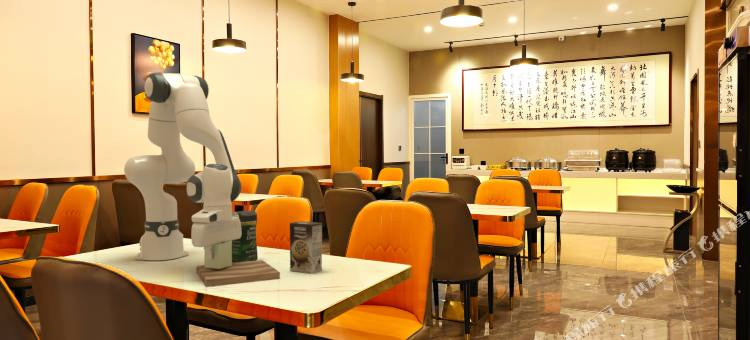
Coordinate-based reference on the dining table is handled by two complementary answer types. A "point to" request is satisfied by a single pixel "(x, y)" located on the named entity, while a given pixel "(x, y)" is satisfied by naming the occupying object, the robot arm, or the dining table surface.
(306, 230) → the coffee box
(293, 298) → the dining table surface
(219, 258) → the beige piece
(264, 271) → the post board
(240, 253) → the coffee jar
